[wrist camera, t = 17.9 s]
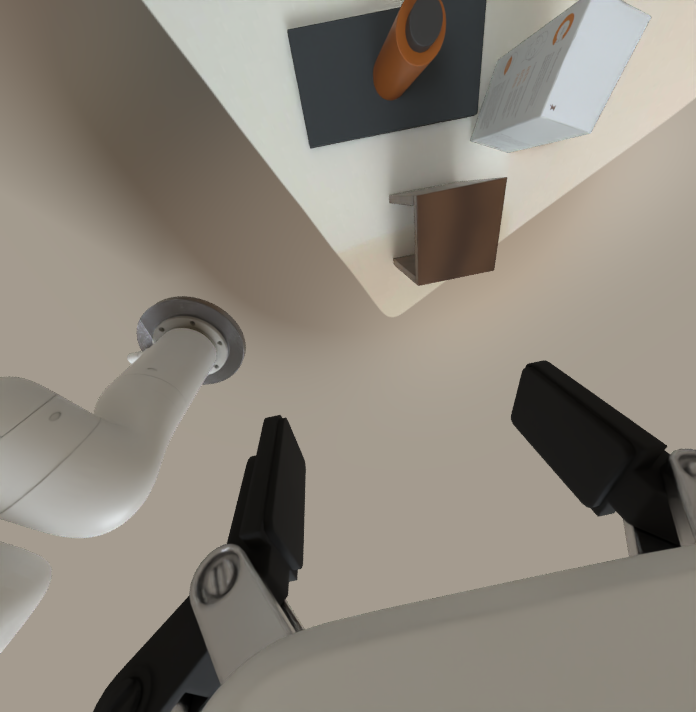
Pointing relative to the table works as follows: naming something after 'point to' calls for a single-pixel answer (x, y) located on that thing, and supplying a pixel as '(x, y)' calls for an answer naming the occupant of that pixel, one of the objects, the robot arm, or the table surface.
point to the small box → (559, 76)
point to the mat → (355, 75)
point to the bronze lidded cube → (453, 229)
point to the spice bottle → (409, 46)
